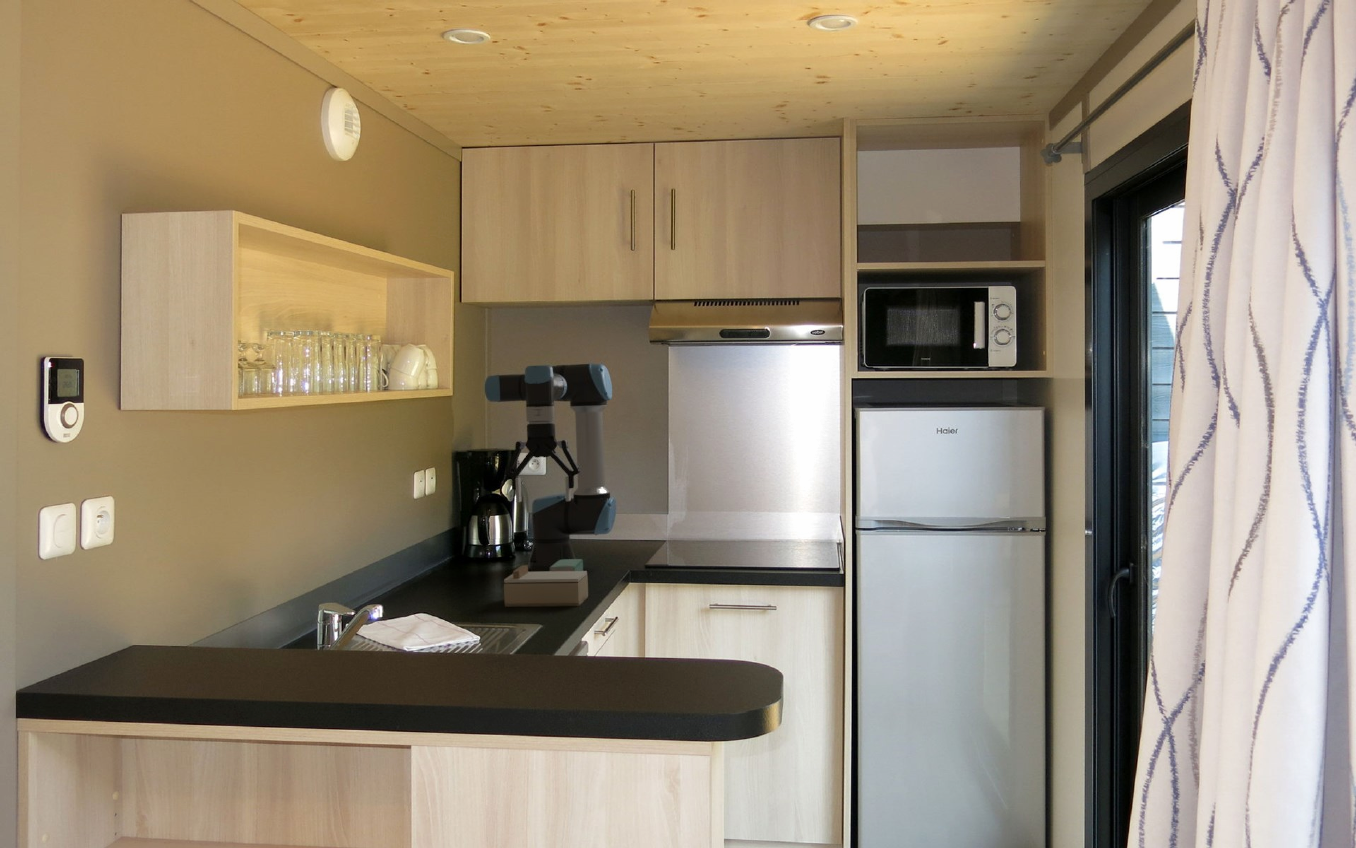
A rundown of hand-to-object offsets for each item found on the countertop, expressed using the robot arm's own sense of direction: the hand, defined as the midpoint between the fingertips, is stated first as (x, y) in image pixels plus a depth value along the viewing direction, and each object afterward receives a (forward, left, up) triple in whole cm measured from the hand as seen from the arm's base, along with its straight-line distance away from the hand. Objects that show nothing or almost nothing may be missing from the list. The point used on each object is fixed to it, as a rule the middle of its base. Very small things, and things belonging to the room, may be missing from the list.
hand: (543, 501), depth 274 cm
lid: (+1, 0, -21) cm, 21 cm away
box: (-18, +2, -27) cm, 32 cm away
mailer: (+1, 0, -27) cm, 27 cm away
